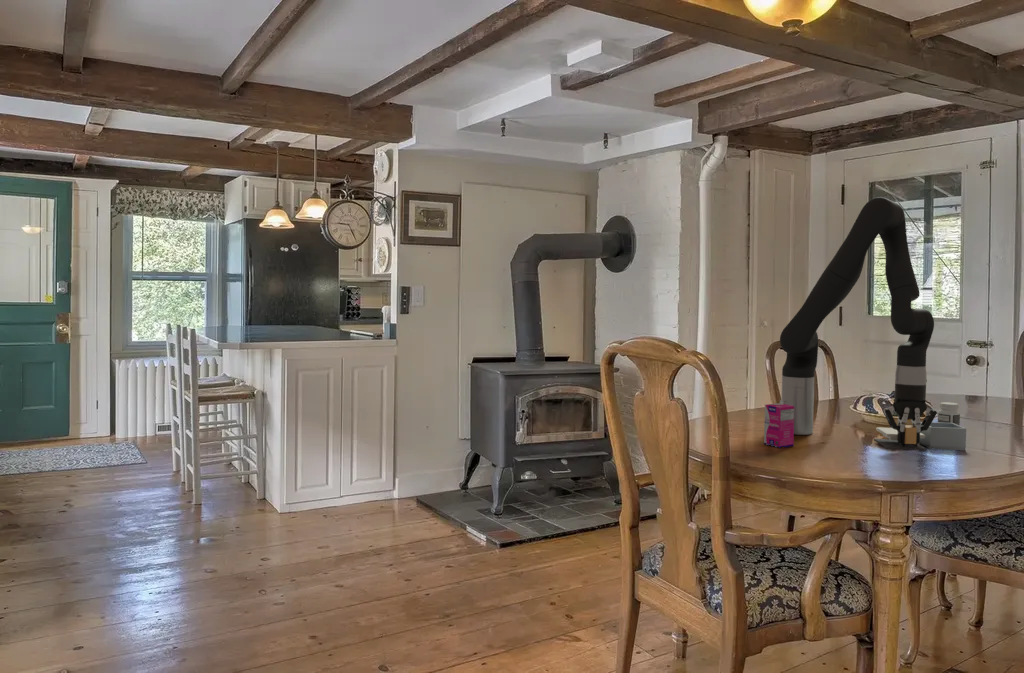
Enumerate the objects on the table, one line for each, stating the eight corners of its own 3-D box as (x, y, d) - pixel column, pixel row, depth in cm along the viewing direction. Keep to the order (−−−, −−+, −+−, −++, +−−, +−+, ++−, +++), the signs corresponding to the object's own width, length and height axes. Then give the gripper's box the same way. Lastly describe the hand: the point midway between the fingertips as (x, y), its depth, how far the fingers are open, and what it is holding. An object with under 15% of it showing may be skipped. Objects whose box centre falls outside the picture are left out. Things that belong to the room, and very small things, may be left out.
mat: (887, 448, 212) (887, 446, 212) (873, 440, 223) (874, 438, 223) (926, 449, 210) (926, 448, 210) (910, 441, 222) (910, 440, 222)
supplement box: (762, 444, 215) (764, 404, 215) (778, 442, 218) (779, 402, 218) (778, 448, 210) (779, 407, 210) (794, 446, 213) (795, 405, 212)
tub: (929, 448, 211) (930, 427, 211) (918, 442, 220) (919, 421, 220) (965, 450, 210) (966, 428, 209) (952, 443, 219) (953, 422, 218)
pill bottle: (953, 434, 233) (955, 402, 232) (962, 438, 227) (964, 405, 227) (933, 434, 233) (935, 401, 233) (942, 437, 228) (943, 404, 227)
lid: (875, 434, 222) (876, 418, 222) (912, 435, 221) (912, 419, 220) (891, 444, 208) (892, 427, 208) (930, 445, 207) (931, 428, 207)
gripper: (932, 381, 211) (930, 443, 212) (878, 380, 213) (876, 441, 214) (943, 384, 204) (941, 449, 205) (887, 383, 206) (885, 447, 207)
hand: (908, 445), depth 210 cm, fingers closed on lid, 2 cm apart
